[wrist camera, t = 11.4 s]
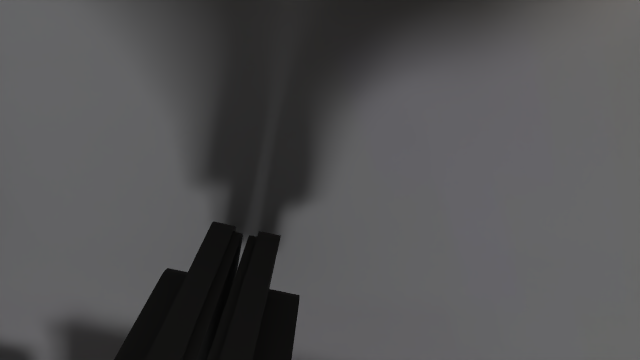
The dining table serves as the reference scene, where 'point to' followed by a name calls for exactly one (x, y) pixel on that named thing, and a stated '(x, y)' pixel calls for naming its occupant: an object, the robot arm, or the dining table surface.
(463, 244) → the dining table surface
